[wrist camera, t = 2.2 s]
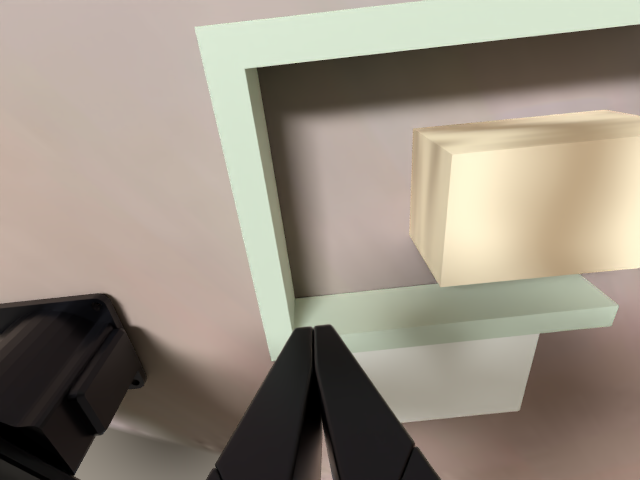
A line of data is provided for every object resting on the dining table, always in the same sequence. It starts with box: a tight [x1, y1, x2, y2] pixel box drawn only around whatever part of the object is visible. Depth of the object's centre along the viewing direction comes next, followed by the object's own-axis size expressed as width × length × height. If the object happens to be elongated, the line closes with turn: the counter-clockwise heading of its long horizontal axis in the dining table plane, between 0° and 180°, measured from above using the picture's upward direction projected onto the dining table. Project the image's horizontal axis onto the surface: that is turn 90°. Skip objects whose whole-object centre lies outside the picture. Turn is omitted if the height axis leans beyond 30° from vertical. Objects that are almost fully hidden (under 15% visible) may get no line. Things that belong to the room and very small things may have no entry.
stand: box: [352, 334, 539, 423], centre depth 20 cm, size 10×7×2 cm
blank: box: [409, 110, 640, 287], centre depth 14 cm, size 8×5×4 cm, turn 95°
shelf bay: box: [195, 0, 640, 361], centre depth 14 cm, size 16×13×3 cm
